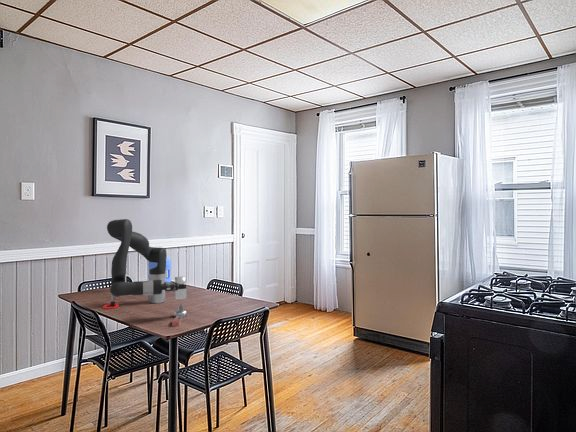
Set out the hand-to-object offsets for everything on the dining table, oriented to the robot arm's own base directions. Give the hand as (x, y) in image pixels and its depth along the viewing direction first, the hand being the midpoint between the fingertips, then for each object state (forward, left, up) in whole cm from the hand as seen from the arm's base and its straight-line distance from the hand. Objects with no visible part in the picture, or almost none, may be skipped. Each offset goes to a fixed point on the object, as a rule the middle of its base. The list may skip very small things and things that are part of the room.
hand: (185, 285), depth 222 cm
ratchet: (+2, -8, -16) cm, 18 cm away
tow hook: (-51, -2, -16) cm, 53 cm away
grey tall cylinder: (-2, -2, -6) cm, 7 cm away
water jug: (-61, +52, -16) cm, 82 cm away
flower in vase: (-80, +37, -16) cm, 90 cm away
